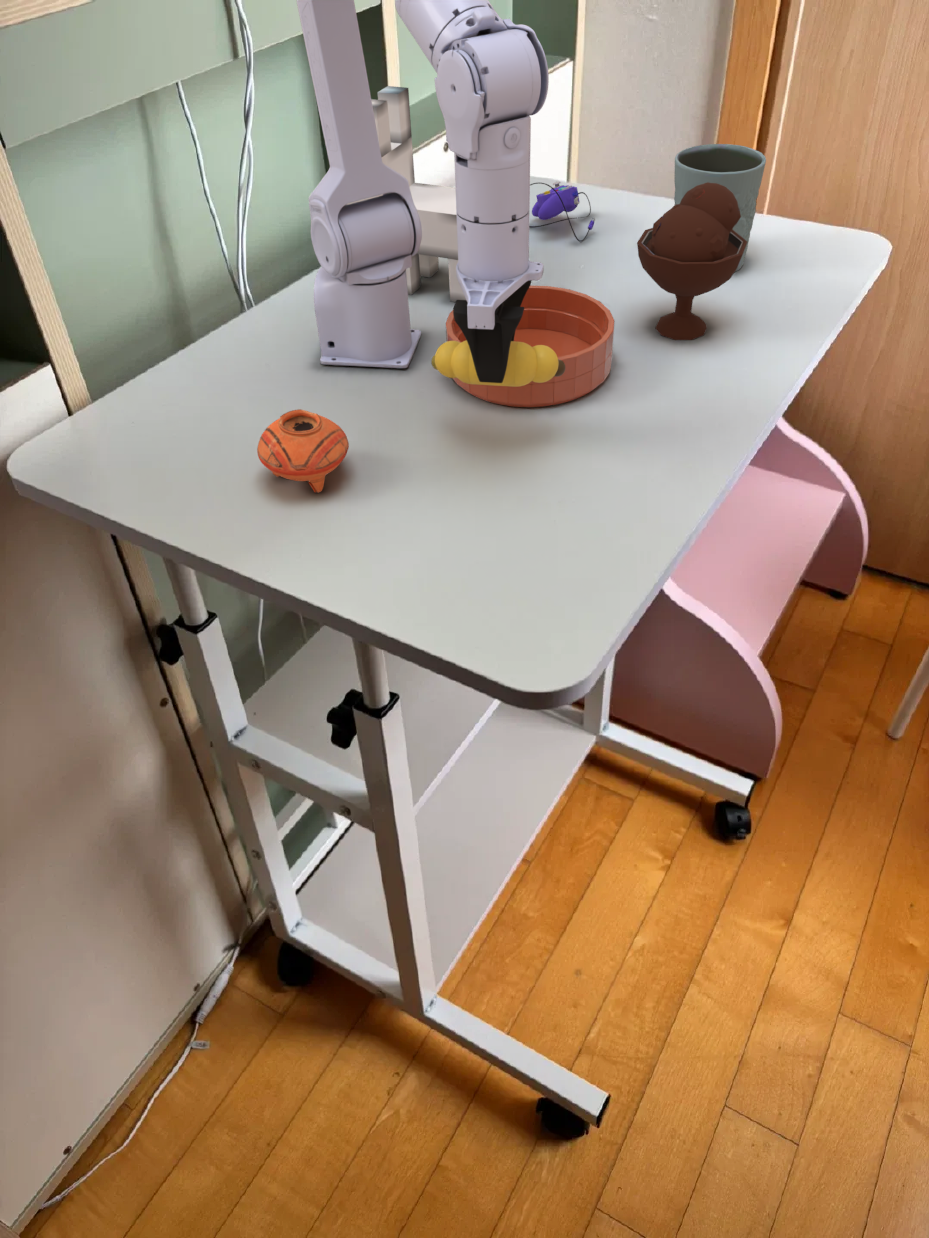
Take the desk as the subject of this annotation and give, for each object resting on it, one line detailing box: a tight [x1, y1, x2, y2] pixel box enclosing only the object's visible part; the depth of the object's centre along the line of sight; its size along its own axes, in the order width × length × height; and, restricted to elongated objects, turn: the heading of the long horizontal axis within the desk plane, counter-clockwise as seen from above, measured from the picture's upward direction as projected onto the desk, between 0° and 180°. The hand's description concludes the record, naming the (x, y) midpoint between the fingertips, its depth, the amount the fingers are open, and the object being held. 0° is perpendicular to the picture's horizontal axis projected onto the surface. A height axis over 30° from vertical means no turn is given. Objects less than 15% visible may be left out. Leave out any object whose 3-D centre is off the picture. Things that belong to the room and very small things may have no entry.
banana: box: [431, 340, 565, 387], centre depth 84 cm, size 12×4×4 cm, turn 81°
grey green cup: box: [673, 143, 767, 273], centre depth 113 cm, size 10×10×12 cm
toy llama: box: [346, 85, 466, 303], centre depth 108 cm, size 8×18×20 cm, turn 66°
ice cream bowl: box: [636, 182, 747, 341], centre depth 99 cm, size 11×11×15 cm
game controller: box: [529, 181, 596, 242], centre depth 124 cm, size 10×8×10 cm
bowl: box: [445, 284, 615, 408], centre depth 98 cm, size 17×17×5 cm
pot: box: [256, 408, 350, 494], centre depth 84 cm, size 8×8×7 cm
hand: (494, 368), depth 84 cm, fingers closed on banana, 4 cm apart
